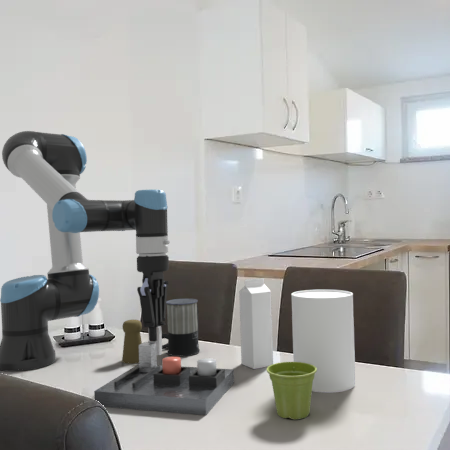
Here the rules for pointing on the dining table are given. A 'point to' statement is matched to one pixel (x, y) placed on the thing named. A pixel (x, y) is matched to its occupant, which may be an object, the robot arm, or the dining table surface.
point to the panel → (166, 390)
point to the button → (171, 365)
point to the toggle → (147, 356)
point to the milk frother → (182, 327)
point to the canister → (325, 337)
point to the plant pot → (292, 388)
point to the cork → (131, 341)
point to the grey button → (207, 367)
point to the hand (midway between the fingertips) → (155, 353)
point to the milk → (256, 324)
